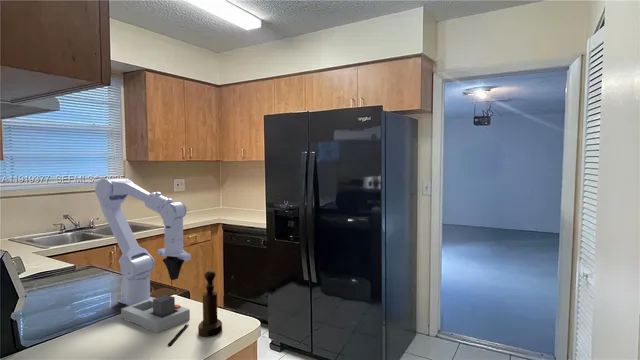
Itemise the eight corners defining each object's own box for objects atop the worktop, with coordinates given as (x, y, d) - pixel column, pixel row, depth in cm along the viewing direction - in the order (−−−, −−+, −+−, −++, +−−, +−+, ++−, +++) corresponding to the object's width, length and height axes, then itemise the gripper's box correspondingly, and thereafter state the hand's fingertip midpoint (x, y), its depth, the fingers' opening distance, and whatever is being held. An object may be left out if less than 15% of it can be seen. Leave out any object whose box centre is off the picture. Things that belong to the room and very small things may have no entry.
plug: (153, 322, 107) (152, 299, 106) (166, 316, 111) (166, 294, 110) (161, 325, 105) (161, 302, 104) (174, 319, 109) (174, 297, 108)
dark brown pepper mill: (197, 328, 104) (197, 267, 103) (220, 325, 106) (220, 265, 105) (199, 339, 97) (198, 274, 97) (223, 334, 100) (223, 271, 99)
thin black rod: (185, 326, 106) (185, 322, 106) (189, 326, 106) (189, 322, 106) (167, 347, 94) (167, 343, 94) (171, 347, 94) (171, 343, 94)
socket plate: (121, 318, 110) (121, 307, 110) (153, 306, 119) (153, 295, 119) (157, 332, 101) (157, 320, 101) (189, 318, 110) (189, 307, 110)
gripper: (149, 238, 119) (149, 278, 119) (177, 243, 111) (178, 286, 112) (168, 234, 125) (168, 272, 125) (196, 239, 117) (196, 280, 118)
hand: (174, 278), depth 119 cm, fingers closed
